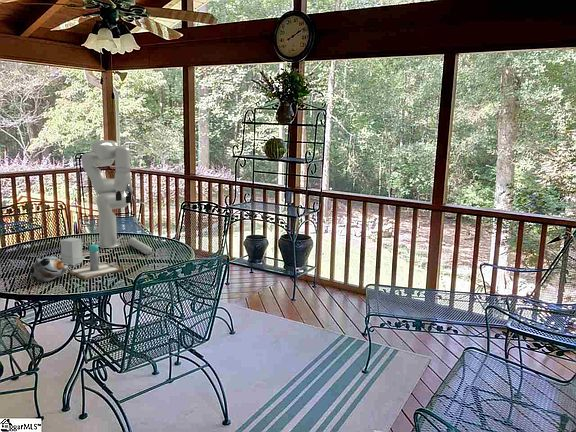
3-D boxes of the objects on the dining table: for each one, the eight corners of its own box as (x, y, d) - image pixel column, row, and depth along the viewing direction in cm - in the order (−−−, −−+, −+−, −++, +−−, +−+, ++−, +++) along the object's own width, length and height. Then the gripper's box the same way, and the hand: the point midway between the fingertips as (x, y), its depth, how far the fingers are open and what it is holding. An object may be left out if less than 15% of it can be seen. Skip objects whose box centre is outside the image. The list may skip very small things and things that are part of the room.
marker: (88, 269, 237) (87, 245, 235) (96, 268, 241) (95, 243, 238) (92, 271, 235) (92, 247, 232) (100, 270, 238) (100, 245, 236)
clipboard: (68, 272, 236) (68, 269, 236) (106, 264, 251) (106, 261, 251) (85, 280, 226) (85, 276, 226) (123, 271, 241) (123, 267, 241)
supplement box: (83, 262, 254) (82, 238, 251) (72, 265, 247) (71, 241, 244) (71, 260, 256) (70, 237, 254) (61, 263, 249) (60, 240, 247)
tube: (154, 247, 273) (137, 238, 292) (146, 246, 269) (129, 236, 288) (152, 257, 273) (135, 246, 292) (143, 255, 269) (126, 244, 288)
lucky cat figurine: (65, 272, 236) (72, 250, 230) (61, 289, 226) (68, 267, 220) (31, 266, 229) (37, 243, 223) (26, 283, 220) (32, 260, 214)
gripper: (107, 169, 262) (108, 200, 265) (125, 172, 251) (126, 204, 254) (120, 168, 267) (121, 199, 271) (138, 171, 257) (138, 203, 260)
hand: (123, 201), depth 262 cm, fingers open, 9 cm apart
